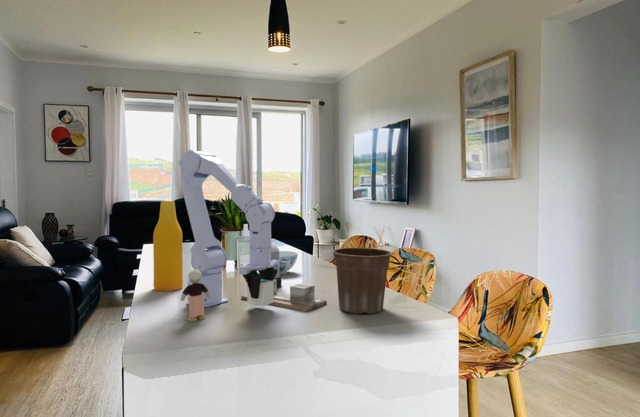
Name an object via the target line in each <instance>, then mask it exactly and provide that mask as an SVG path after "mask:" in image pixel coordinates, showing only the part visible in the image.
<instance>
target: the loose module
mask: <svg viewBox="0 0 640 417" xmlns="http://www.w3.org/2000/svg"><path fill="white" fill-rule="evenodd" d="M246 284H247V283H246ZM246 288H247V292H246V295H247V300H246V302H247V303H249V304H255V305H259V306H268V305H269V304H271V303H273V295H274V281H270V280H265V279H261V282H260V287H259V297H258V298H257V299H255V298H251V295H250V291H249V287H248V284H247V286H246Z"/></svg>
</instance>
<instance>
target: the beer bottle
mask: <svg viewBox="0 0 640 417" xmlns="http://www.w3.org/2000/svg"><path fill="white" fill-rule="evenodd" d="M159 208H160V209H159V217H158V218H159V219H158V221H157V224H156V226H155V227H154V230H153V235H152V236H153V237H152V239H153V242H152V244H153V245H152V246H153V249H152V250H153V253H152V254H153V288H154V290H155V291H156V292H174V291H179V290H181V289H182V288H183V286H184V278H183V275H184V274H183V270H184V269H183V267H184V266H183V259H184V257H183V230H182V228H181V226H180V224H179V222H178V219H177V218H178V217H177V212H176V203H175V201H174V200H161V201H160V207H159Z"/></svg>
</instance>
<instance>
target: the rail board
mask: <svg viewBox="0 0 640 417" xmlns="http://www.w3.org/2000/svg"><path fill="white" fill-rule="evenodd" d="M273 281H274V295H273V303H271V304H268V305H269V306H275V307H280V308H284V309H285V308H286V309H290V310H291V309H292V310H294V311H295V310H297V311H301V312H302V311H303V312H310V311H312V310H313V309H317V308H319V307H322V306H325V305H327V300H326V299H321V298H315V294H316V293H315V285H313V284H308V283H297V284H294V285H290V286H289V293H284V292H278V291H277V290H278V288H277V280H273ZM240 299H241V300H244V301H247V294H244V295H241V298H240Z"/></svg>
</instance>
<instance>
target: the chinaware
mask: <svg viewBox="0 0 640 417" xmlns="http://www.w3.org/2000/svg"><path fill="white" fill-rule="evenodd" d="M298 254H299V253H297V252H296V251H291V250H290V251H288V250H286V251H285V250H279V260H280V267H279V276H280V275H287V274H288V271H290V270H291V269H292V268H293V267H294V266H295V264H296V262H297V259H298V256H299V255H298Z"/></svg>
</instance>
